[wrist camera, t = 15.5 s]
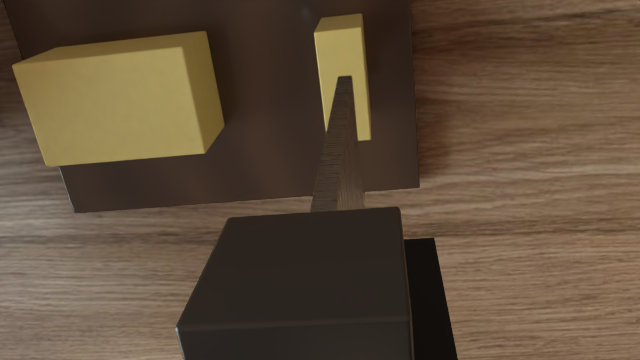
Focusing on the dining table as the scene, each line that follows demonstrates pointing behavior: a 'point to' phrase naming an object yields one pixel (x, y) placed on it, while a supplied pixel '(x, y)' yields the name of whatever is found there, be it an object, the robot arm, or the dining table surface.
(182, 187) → the board
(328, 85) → the block
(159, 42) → the butter block
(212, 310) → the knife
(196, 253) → the dining table surface
